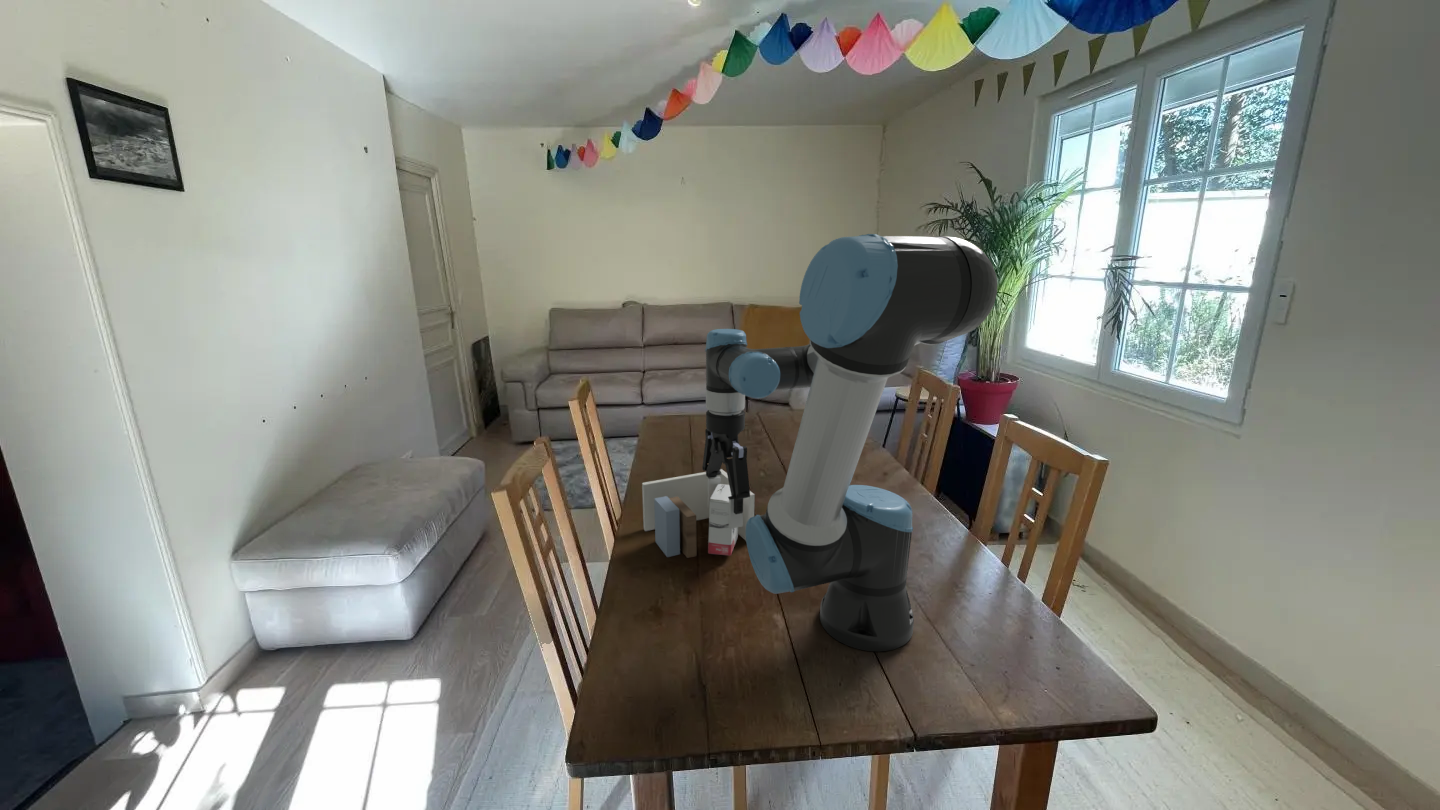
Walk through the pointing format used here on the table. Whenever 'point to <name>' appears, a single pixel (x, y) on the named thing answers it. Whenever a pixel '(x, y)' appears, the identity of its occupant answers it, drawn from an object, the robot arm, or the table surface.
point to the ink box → (721, 523)
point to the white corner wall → (666, 513)
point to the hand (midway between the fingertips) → (724, 516)
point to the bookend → (686, 528)
